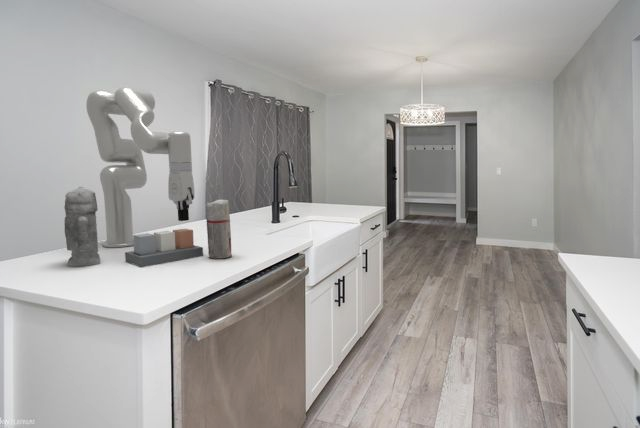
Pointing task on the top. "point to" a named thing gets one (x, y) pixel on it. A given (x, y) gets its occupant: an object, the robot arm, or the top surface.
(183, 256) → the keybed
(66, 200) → the figurine
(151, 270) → the top surface
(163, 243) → the ivory key
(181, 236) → the terracotta key
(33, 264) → the top surface
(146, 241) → the slate key
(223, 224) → the spray can
